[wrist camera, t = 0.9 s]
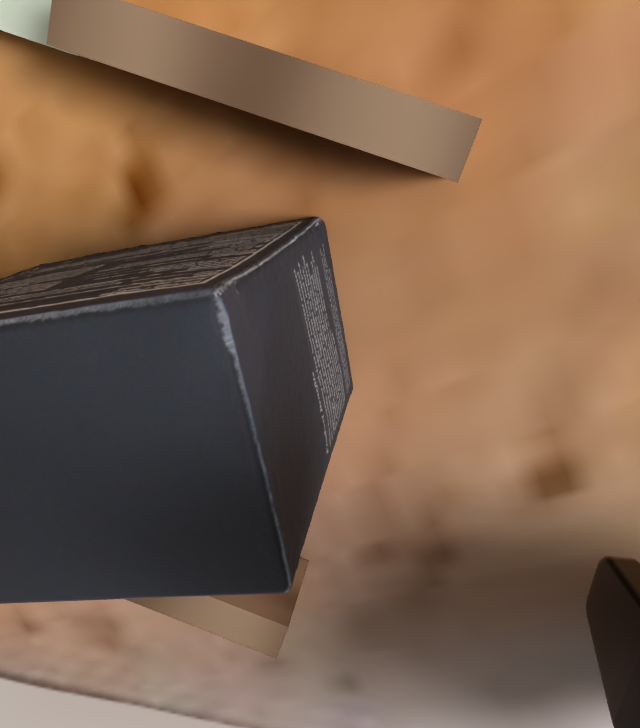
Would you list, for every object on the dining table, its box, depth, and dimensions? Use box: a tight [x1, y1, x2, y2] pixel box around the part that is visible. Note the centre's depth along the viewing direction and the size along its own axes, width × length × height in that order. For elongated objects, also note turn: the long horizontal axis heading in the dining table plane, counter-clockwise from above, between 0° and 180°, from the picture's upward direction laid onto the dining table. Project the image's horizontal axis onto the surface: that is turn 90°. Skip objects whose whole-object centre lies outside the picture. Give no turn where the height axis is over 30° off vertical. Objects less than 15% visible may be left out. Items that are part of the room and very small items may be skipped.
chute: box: [47, 0, 482, 658], centre depth 19 cm, size 11×18×4 cm, turn 163°
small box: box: [0, 217, 353, 604], centre depth 16 cm, size 11×6×10 cm, turn 101°
